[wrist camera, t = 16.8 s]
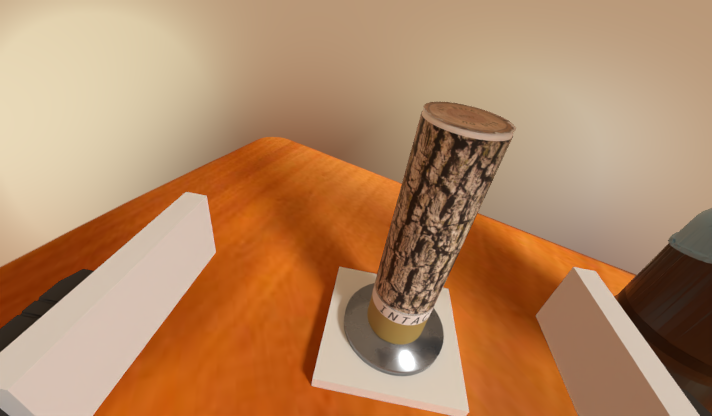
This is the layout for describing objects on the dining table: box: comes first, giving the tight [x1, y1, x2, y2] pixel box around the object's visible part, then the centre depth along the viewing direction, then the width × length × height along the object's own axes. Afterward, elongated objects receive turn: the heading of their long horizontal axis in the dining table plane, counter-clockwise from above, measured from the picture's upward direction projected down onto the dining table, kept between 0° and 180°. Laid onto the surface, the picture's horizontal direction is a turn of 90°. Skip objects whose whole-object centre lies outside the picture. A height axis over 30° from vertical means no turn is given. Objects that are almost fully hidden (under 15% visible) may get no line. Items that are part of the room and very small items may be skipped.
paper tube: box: [367, 102, 516, 344], centre depth 29 cm, size 7×7×25 cm
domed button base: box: [311, 267, 469, 416], centre depth 37 cm, size 16×16×2 cm
